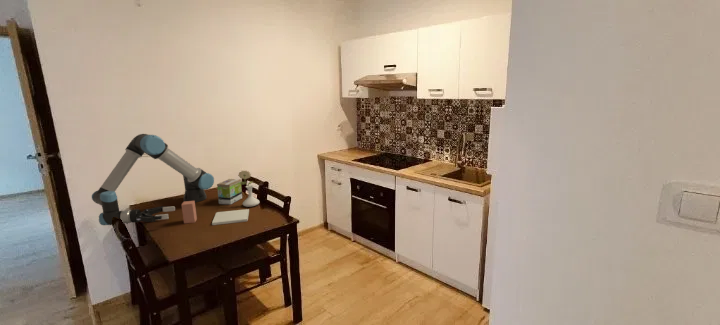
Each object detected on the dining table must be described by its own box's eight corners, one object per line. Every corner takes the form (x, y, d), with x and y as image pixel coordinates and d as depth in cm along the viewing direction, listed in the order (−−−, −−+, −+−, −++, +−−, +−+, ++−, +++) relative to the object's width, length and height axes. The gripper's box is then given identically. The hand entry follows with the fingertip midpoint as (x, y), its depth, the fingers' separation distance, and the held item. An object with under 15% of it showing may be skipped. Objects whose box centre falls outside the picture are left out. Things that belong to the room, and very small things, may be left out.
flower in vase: (262, 202, 235) (259, 168, 230) (255, 208, 224) (252, 172, 219) (244, 202, 237) (241, 168, 231) (237, 207, 225) (233, 172, 220)
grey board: (216, 214, 214) (216, 212, 214) (249, 211, 219) (249, 209, 219) (212, 225, 197) (211, 222, 197) (247, 221, 202) (247, 219, 202)
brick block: (186, 219, 206) (183, 201, 203) (196, 218, 208) (194, 200, 205) (184, 223, 200) (181, 204, 198) (194, 222, 202) (192, 203, 199)
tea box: (231, 204, 232) (229, 184, 229) (218, 204, 234) (216, 184, 231) (242, 198, 246) (240, 178, 243) (230, 197, 248) (228, 178, 245)
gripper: (140, 214, 207) (177, 211, 212) (123, 230, 184) (166, 226, 189) (138, 203, 206) (176, 199, 211) (121, 218, 182) (164, 213, 187)
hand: (171, 212), depth 200 cm, fingers open, 13 cm apart
